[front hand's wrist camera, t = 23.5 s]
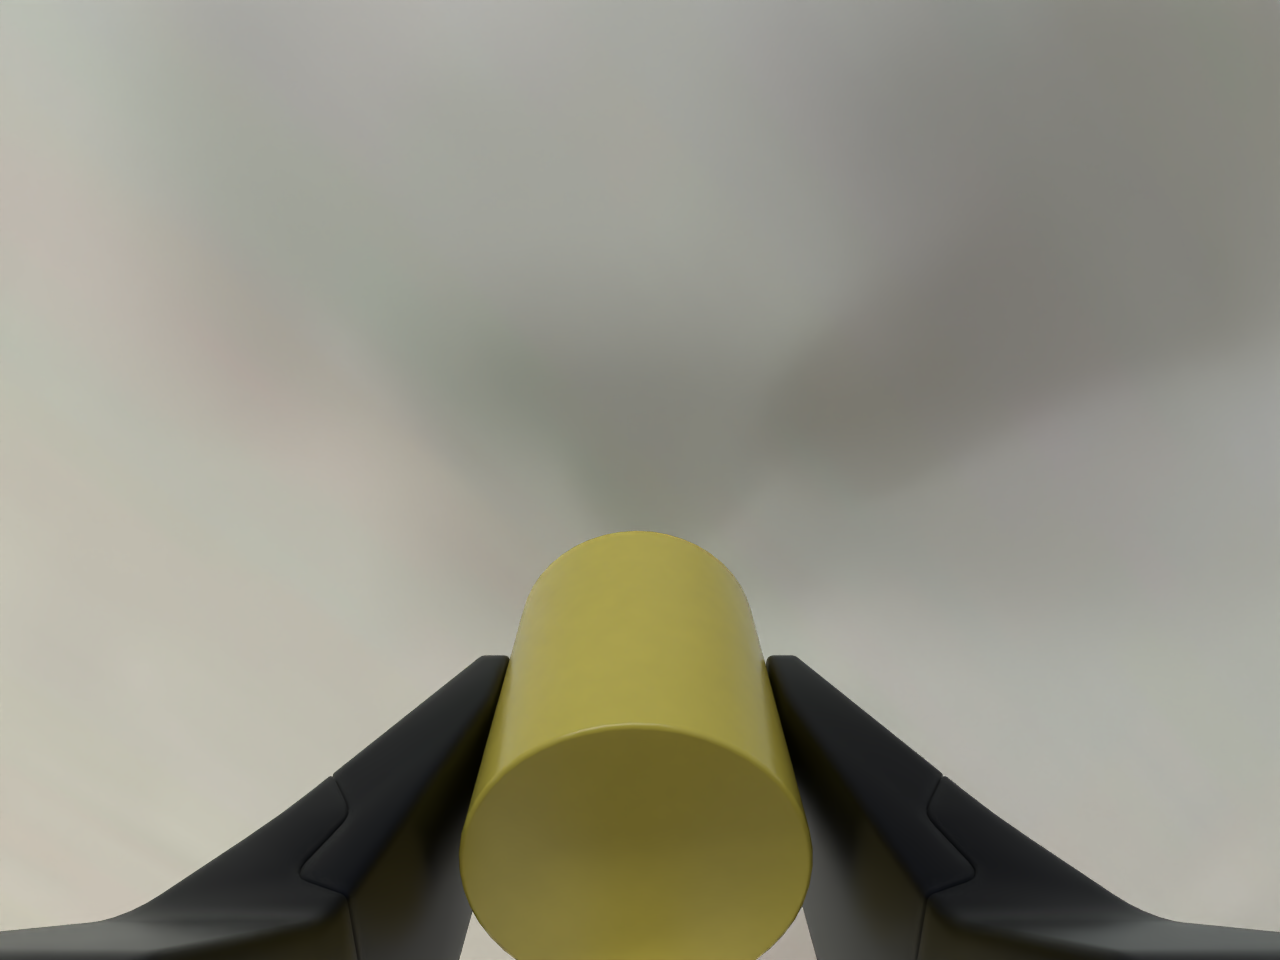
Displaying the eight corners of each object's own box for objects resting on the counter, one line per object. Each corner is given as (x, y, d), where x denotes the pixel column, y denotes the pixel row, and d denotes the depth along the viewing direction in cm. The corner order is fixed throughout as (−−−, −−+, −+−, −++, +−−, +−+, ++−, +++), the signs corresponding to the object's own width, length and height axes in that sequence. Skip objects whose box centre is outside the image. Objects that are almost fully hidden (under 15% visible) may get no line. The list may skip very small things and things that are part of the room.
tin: (580, 759, 14) (551, 1033, 9) (480, 580, 12) (392, 797, 8) (786, 687, 13) (860, 940, 9) (702, 493, 12) (739, 674, 7)
